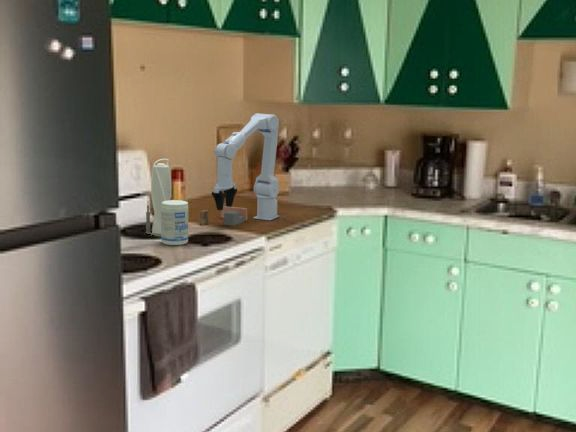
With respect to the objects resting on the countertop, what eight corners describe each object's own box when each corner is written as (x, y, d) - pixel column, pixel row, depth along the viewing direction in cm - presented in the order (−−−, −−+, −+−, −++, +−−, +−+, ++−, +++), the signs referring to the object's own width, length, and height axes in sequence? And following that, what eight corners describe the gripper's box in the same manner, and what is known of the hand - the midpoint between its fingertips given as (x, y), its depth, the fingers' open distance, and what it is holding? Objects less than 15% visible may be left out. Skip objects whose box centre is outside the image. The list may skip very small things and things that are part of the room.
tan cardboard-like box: (224, 216, 283) (224, 203, 282) (227, 216, 283) (227, 203, 282) (199, 225, 265) (200, 211, 264) (203, 225, 264) (203, 212, 263)
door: (221, 218, 278) (221, 206, 277) (222, 217, 279) (222, 205, 278) (246, 220, 274) (246, 209, 273) (247, 220, 276) (247, 208, 275)
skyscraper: (159, 230, 254) (158, 157, 248) (176, 232, 251) (176, 159, 245) (144, 234, 247) (143, 159, 241) (162, 237, 243) (161, 161, 237)
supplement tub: (179, 247, 230) (179, 205, 227) (155, 244, 233) (155, 203, 230) (193, 241, 239) (193, 201, 236) (170, 238, 242) (170, 198, 239)
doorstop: (234, 221, 275) (234, 209, 274) (243, 222, 274) (244, 210, 273) (223, 225, 267) (223, 213, 266) (233, 226, 266) (233, 214, 265)
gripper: (224, 171, 267) (224, 204, 270) (206, 175, 254) (206, 210, 257) (240, 172, 264) (239, 206, 267) (222, 177, 251) (222, 212, 254)
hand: (224, 208), depth 262 cm, fingers open, 7 cm apart
